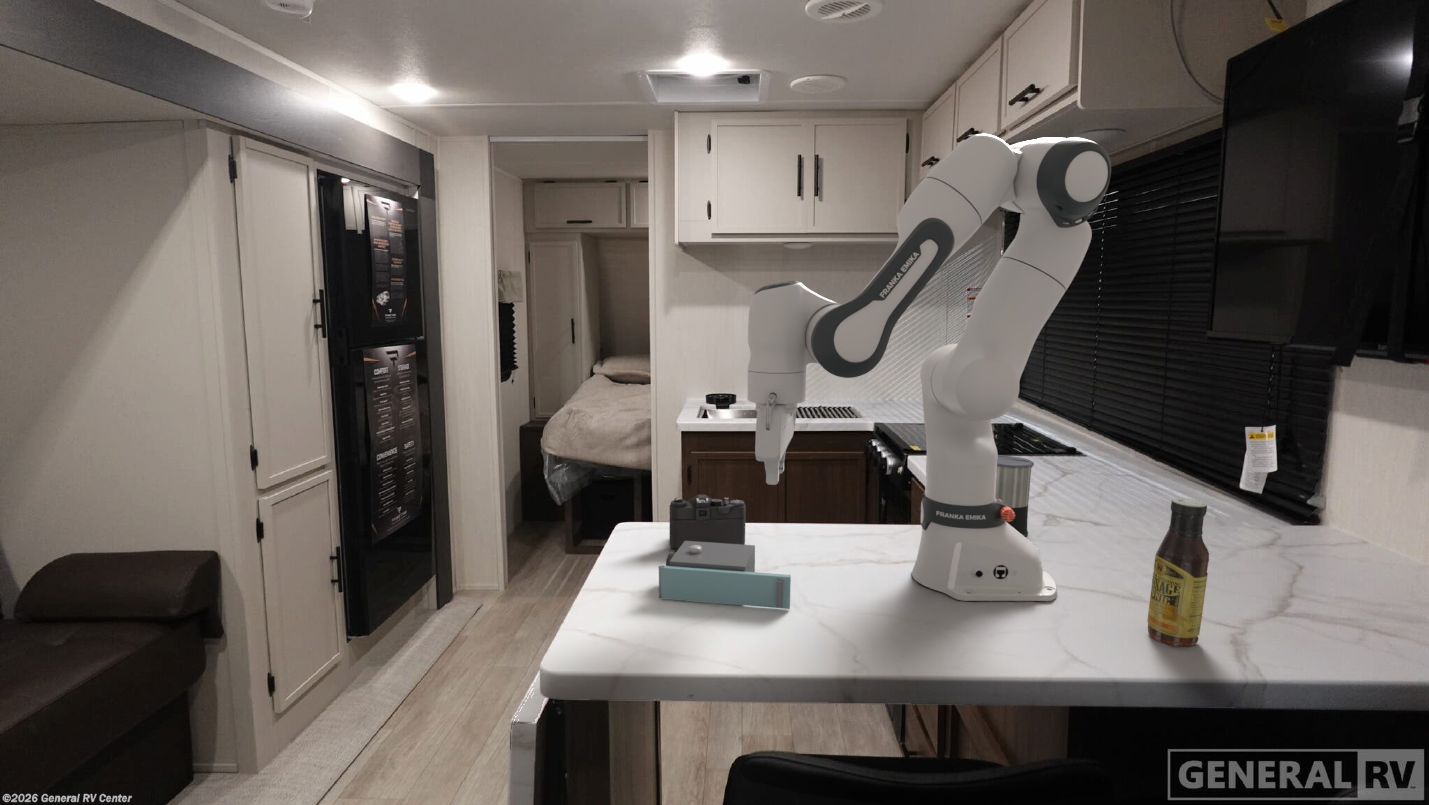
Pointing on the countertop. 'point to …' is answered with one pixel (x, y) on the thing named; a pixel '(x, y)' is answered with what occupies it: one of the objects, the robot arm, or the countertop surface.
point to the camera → (706, 521)
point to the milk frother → (1014, 488)
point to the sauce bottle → (1180, 577)
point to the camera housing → (714, 556)
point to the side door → (725, 586)
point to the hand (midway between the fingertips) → (775, 478)
